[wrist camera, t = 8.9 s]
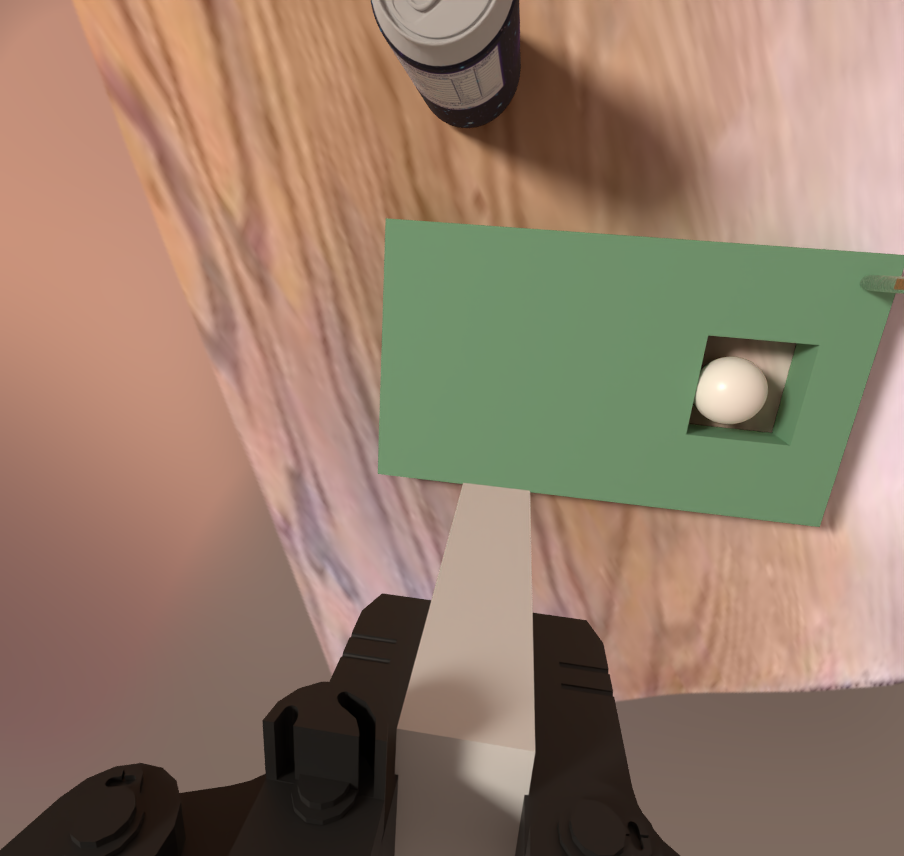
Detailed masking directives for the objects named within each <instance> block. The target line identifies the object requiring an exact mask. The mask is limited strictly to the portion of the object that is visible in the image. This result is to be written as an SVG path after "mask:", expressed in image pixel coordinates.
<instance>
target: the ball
mask: <svg viewBox="0 0 904 856" xmlns="http://www.w3.org/2000/svg"><path fill="white" fill-rule="evenodd" d="M767 395H768V384H767V380H766V378H765V375H764V374H763V372H762V371H761V370H760V368H759V367H758V366H756V365H755V364H754V363H752V362H751V361H749V360H746V359H743V358H739V357H723V358H719V359H716V360H713V361H711V362H710V363H708V364H707V365H705V366H704V367H703V368H702V369H701V370H700V374H699V379H698V383H697V388H696V392H695V397H694V404H695V406H696V408H697V409H698V410H699V412H700V413H701V414H702V415H704V416H705V417H706V418H708V419H710V420H712V421H714V422H717V423H721V424H736V423H741V422H744V421H746V420H748V419H750V418H752V417H753V416H754V415H756V414H757V413H758V412H759V411H760V410H761V408H762V407H763V405H764V403H765V401H766V399H767Z"/></svg>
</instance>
